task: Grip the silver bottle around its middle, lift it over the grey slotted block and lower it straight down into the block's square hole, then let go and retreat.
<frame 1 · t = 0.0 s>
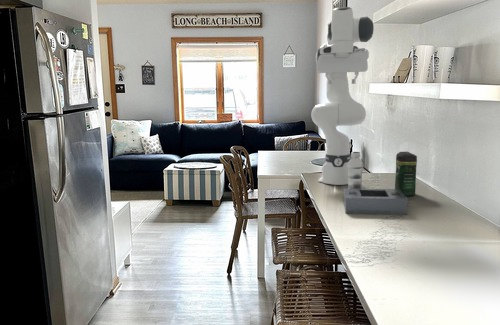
hand: (341, 84, 172), 48 cm above the kitchen counter, fingers open, 8 cm apart
silver bottle: (354, 199, 178), on the kitchen counter
coffee jar: (404, 194, 185), on the kitchen counter
grey slotted block: (373, 208, 165), on the kitchen counter
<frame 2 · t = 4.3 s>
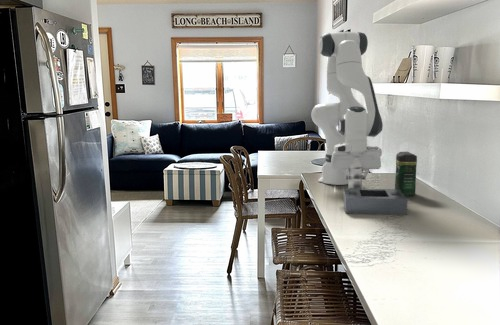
hand: (355, 179, 177), 9 cm above the kitchen counter, fingers closed on silver bottle, 6 cm apart
silver bottle: (354, 199, 178), on the kitchen counter, touching gripper
everything else where it was.
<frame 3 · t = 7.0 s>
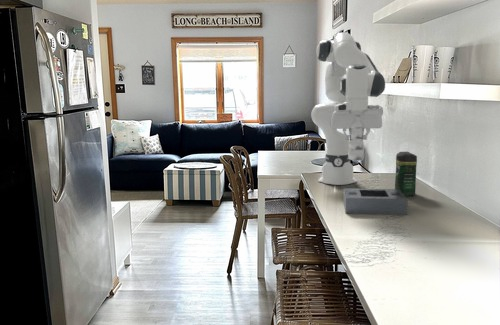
hand: (356, 139, 174), 25 cm above the kitchen counter, fingers closed on silver bottle, 6 cm apart
silver bottle: (355, 161, 176), point 16 cm above the kitchen counter, touching gripper
everything else where it was.
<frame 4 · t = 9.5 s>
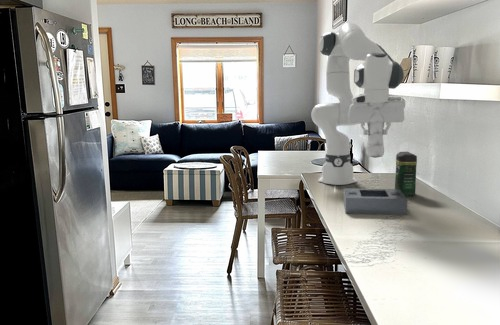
hand: (375, 134, 160), 29 cm above the kitchen counter, fingers closed on silver bottle, 6 cm apart
silver bottle: (374, 158, 161), point 20 cm above the kitchen counter, touching gripper
everything else where it was.
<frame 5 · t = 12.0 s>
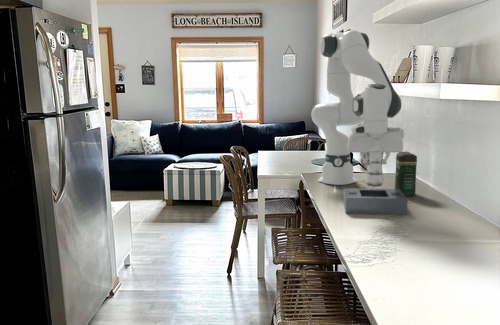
hand: (374, 163, 162), 18 cm above the kitchen counter, fingers closed on silver bottle, 6 cm apart
silver bottle: (374, 186, 163), point 9 cm above the kitchen counter, touching gripper
everything else where it was.
when the fingers open (10 cm above the kitchen counter, at t = 14.5 s): silver bottle drops 1 cm, resting in grey slotted block.
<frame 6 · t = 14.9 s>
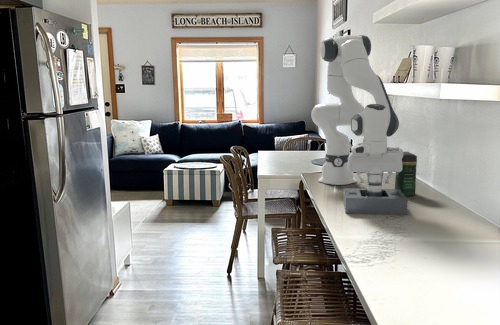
hand: (373, 183, 163), 10 cm above the kitchen counter, fingers open, 8 cm apart
silver bottle: (373, 208, 165), resting in grey slotted block
everything else where it was.
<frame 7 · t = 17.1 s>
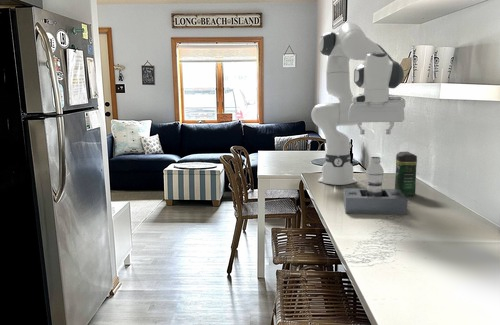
hand: (375, 134, 160), 29 cm above the kitchen counter, fingers open, 8 cm apart
nothing on the kitchen counter moved.
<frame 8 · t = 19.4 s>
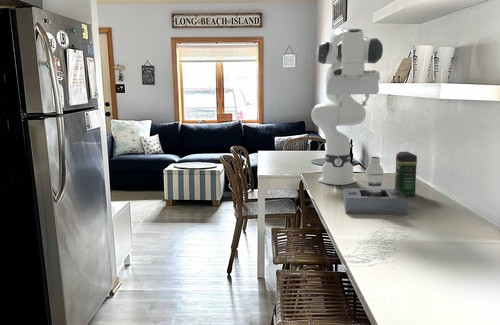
hand: (352, 106, 170), 39 cm above the kitchen counter, fingers open, 8 cm apart
nothing on the kitchen counter moved.
at the end: silver bottle 0.3 cm off-centre on the grey slotted block, point 0.0 cm above the grey slotted block's base; silver bottle tilted 0°; the gripper is holding nothing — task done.
